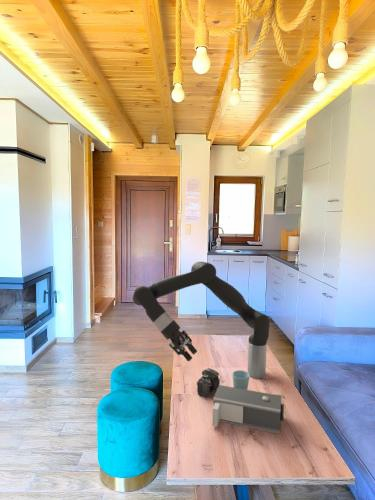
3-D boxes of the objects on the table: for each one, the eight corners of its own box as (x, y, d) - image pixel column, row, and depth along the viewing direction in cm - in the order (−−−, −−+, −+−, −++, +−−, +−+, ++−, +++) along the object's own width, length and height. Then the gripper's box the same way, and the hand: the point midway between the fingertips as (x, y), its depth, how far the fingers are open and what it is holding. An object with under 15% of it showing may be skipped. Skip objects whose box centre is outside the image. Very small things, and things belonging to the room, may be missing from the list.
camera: (217, 399, 143) (217, 378, 142) (195, 396, 145) (196, 375, 144) (220, 384, 156) (220, 364, 155) (200, 382, 158) (200, 362, 157)
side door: (215, 416, 129) (216, 400, 128) (242, 422, 125) (243, 405, 125) (212, 425, 123) (212, 408, 122) (240, 431, 120) (241, 414, 119)
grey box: (218, 404, 139) (219, 383, 138) (283, 417, 130) (284, 394, 129) (212, 420, 128) (213, 397, 127) (282, 434, 120) (283, 410, 119)
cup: (235, 401, 141) (236, 379, 140) (229, 392, 149) (230, 371, 148) (251, 399, 143) (252, 377, 142) (244, 390, 150) (245, 369, 149)
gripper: (166, 325, 125) (194, 358, 123) (178, 314, 139) (203, 344, 136) (153, 336, 127) (181, 369, 125) (167, 325, 141) (192, 354, 139)
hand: (193, 356), depth 131 cm, fingers open, 6 cm apart
